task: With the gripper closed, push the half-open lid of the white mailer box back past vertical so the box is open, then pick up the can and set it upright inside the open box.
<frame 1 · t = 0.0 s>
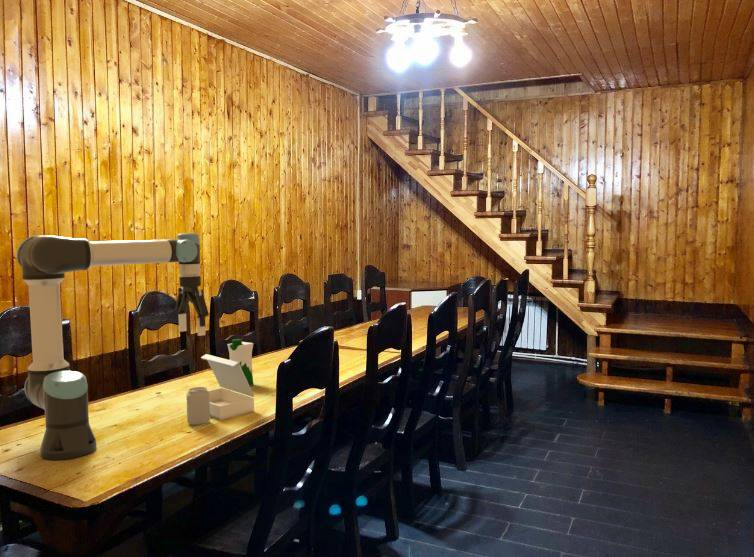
hand: (192, 333, 232), 28 cm above the table, fingers open, 13 cm apart
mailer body: (220, 409, 231), on the table
can: (198, 423, 216), on the table
lid: (227, 376, 233), point 12 cm above the table, hinge at 65.0°
milk carton: (241, 386, 267), on the table
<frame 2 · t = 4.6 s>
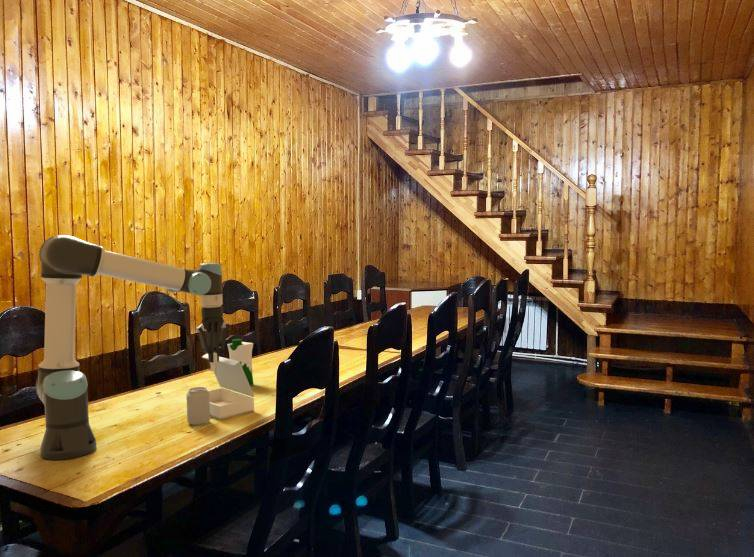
hand: (214, 370, 229), 15 cm above the table, fingers closed
lid: (227, 376, 233), point 12 cm above the table, hinge at 66.8°, touching gripper
everything else where it was.
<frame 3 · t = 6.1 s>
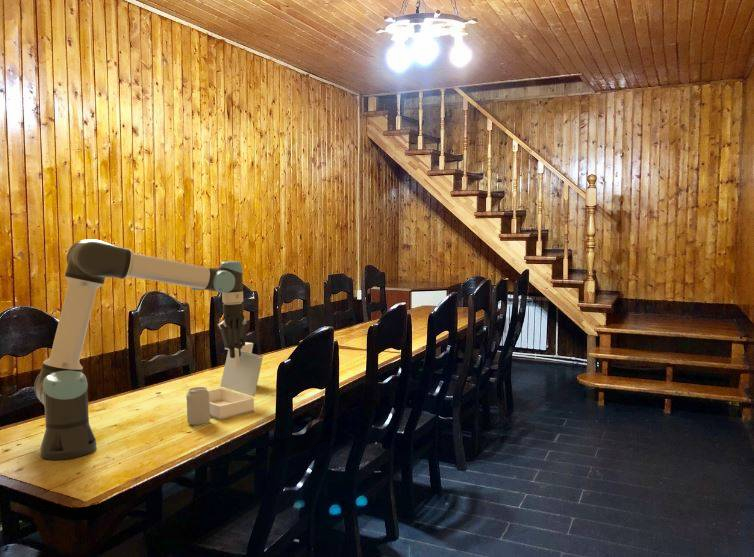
hand: (235, 366, 235), 15 cm above the table, fingers closed
lid: (239, 371, 236), point 13 cm above the table, hinge at 106.7°, touching gripper
everything else where it was.
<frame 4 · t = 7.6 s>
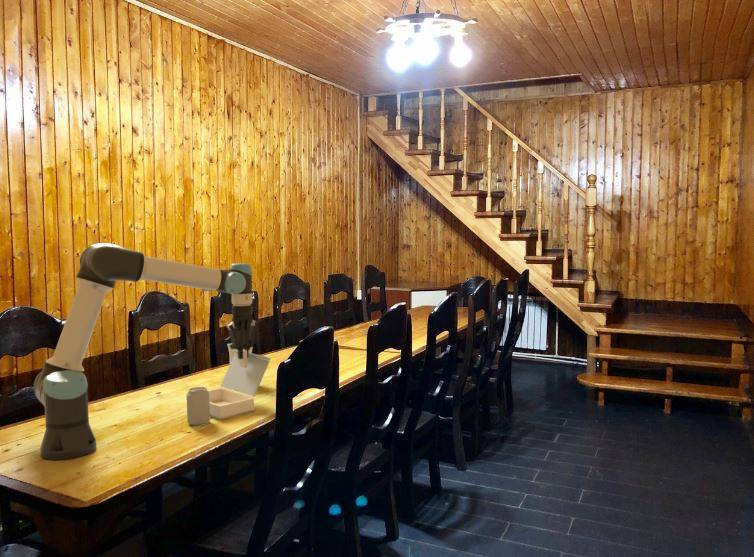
hand: (243, 366, 237), 14 cm above the table, fingers closed
lid: (243, 371, 237), point 12 cm above the table, hinge at 120.8°, touching gripper
everything else where it was.
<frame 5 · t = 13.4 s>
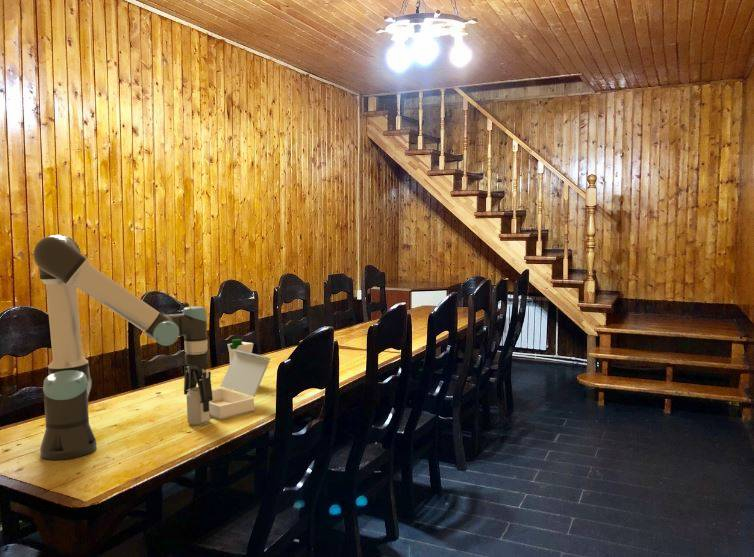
hand: (198, 418, 216), 2 cm above the table, fingers closed on can, 7 cm apart
can: (199, 423, 216), on the table, touching gripper
lid: (243, 371, 237), point 12 cm above the table, hinge at 120.8°
everything else where it was.
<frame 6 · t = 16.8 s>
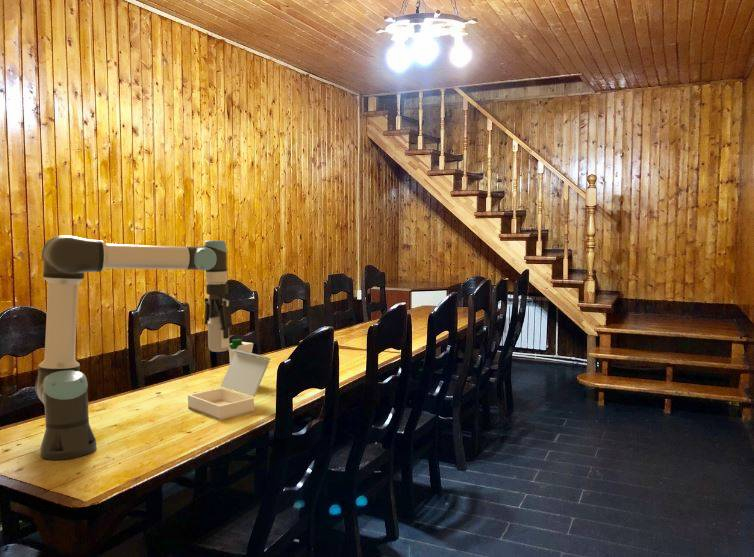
hand: (218, 345, 229), 24 cm above the table, fingers closed on can, 7 cm apart
can: (219, 350, 230), point 22 cm above the table, touching gripper
everything else where it was.
when the fingers open (5 cm above the table, at t = 20.5 s): can drops 3 cm, resting on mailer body.
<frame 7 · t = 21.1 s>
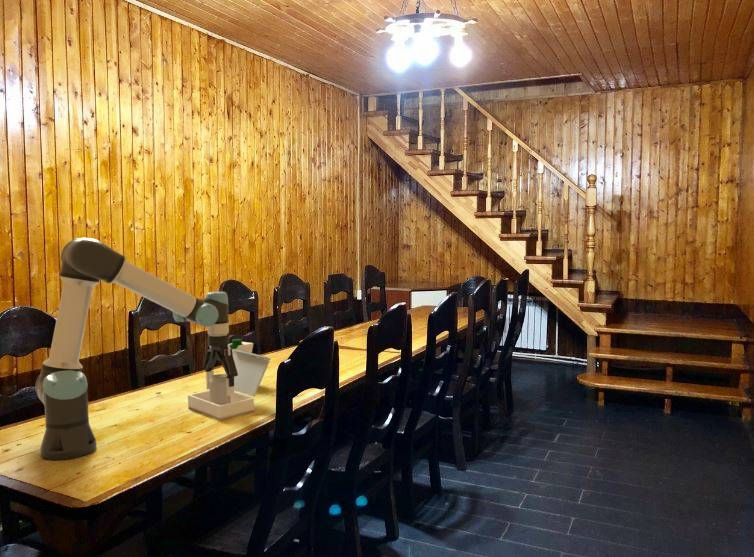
hand: (220, 392, 231), 7 cm above the table, fingers open, 13 cm apart
can: (220, 408, 231), point 1 cm above the table, touching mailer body
everything else where it was.
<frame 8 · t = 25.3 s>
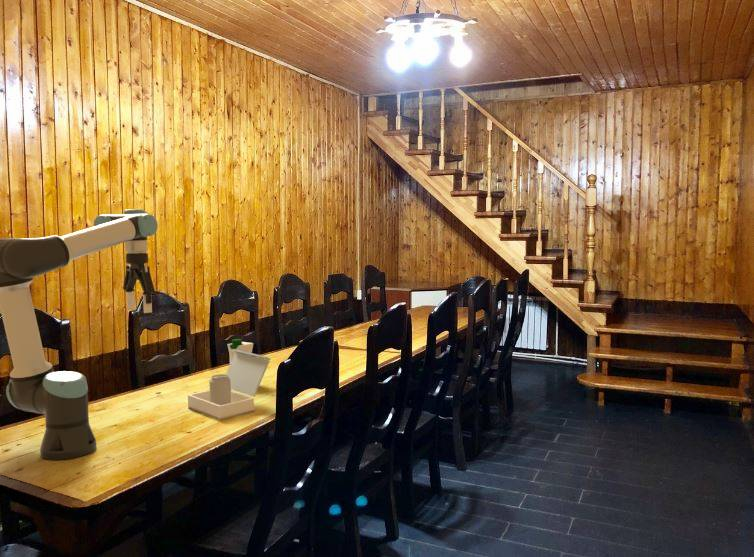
hand: (139, 311, 229), 37 cm above the table, fingers open, 13 cm apart
nothing on the table moved.
at the end: lid at +121° (first picture: +65°); can inside the target area on the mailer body (0.0 cm from its centre), point 0.6 cm above the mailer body's base; can tilted 0° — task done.
